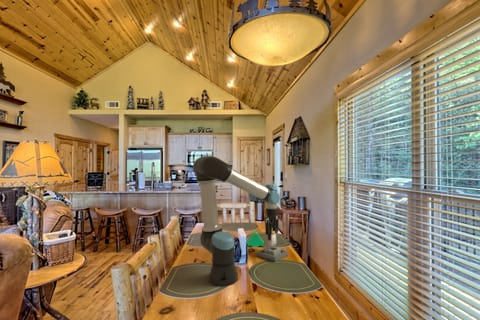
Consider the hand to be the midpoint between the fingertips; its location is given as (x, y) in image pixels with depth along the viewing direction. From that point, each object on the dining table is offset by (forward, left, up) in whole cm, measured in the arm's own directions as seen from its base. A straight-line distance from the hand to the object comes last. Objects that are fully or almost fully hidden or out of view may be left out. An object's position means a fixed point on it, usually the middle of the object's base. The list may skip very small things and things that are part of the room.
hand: (272, 244), depth 165 cm
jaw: (0, 0, -2) cm, 2 cm away
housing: (0, 0, -8) cm, 8 cm away
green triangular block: (+10, +22, -8) cm, 25 cm away
